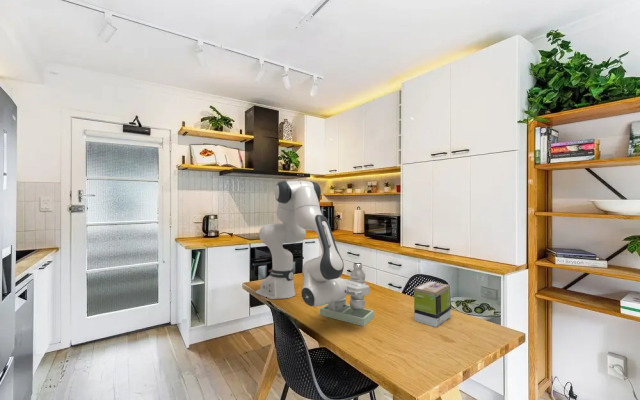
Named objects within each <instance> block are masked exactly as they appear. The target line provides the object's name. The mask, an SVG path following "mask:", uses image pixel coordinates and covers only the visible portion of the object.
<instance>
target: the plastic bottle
mask: <svg viewBox="0 0 640 400" xmlns="http://www.w3.org/2000/svg"><path fill="white" fill-rule="evenodd" d="M352 265H353V267H352V268H353V269H352V270H351V272H350V276H349V277H350V279H351V281H354V282H358V283H361V284H362V283H363V282H364V283H366V280H365V279H366V273H365V272H364V270H363V263H361V262H353V264H352ZM349 298H350V299H349V305H350V307H351V309H353V310H362V309H363V308H364V309H365V306H366V303H365V302H366V300H365V296H361V297H354V296H351V295H350V297H349Z"/></svg>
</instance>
